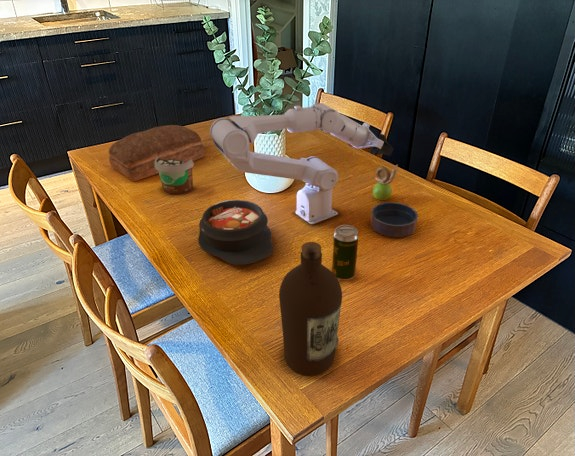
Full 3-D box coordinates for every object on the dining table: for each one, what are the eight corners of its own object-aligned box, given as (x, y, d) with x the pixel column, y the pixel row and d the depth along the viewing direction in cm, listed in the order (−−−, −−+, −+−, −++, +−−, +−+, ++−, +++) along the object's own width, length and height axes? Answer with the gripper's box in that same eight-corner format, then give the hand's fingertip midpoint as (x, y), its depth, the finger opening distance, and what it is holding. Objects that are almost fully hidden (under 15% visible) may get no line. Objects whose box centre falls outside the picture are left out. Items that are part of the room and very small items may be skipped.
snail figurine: (388, 206, 131) (393, 168, 125) (368, 200, 135) (372, 163, 128) (396, 199, 135) (401, 162, 128) (377, 193, 138) (381, 156, 132)
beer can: (352, 266, 108) (355, 223, 102) (357, 280, 104) (361, 237, 97) (329, 267, 108) (331, 225, 101) (334, 282, 103) (336, 238, 97)
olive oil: (270, 351, 87) (264, 242, 73) (314, 327, 92) (316, 221, 78) (303, 389, 79) (304, 276, 66) (349, 361, 84) (359, 251, 71)
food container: (151, 194, 140) (145, 164, 134) (161, 185, 145) (155, 155, 139) (189, 198, 137) (184, 168, 132) (197, 188, 142) (193, 159, 137)
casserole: (184, 229, 123) (179, 202, 118) (246, 211, 130) (245, 184, 126) (221, 281, 104) (217, 251, 100) (291, 255, 112) (291, 227, 108)
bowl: (392, 244, 116) (394, 231, 113) (360, 223, 124) (361, 210, 122) (425, 229, 121) (427, 216, 119) (392, 210, 130) (394, 198, 127)
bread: (108, 168, 156) (100, 136, 149) (182, 144, 172) (178, 114, 166) (131, 184, 145) (124, 151, 139) (208, 157, 162) (205, 126, 156)
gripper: (373, 121, 113) (406, 141, 122) (338, 112, 125) (370, 130, 133) (361, 148, 114) (394, 165, 123) (327, 136, 126) (360, 153, 134)
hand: (381, 148), depth 128 cm, fingers open, 7 cm apart
